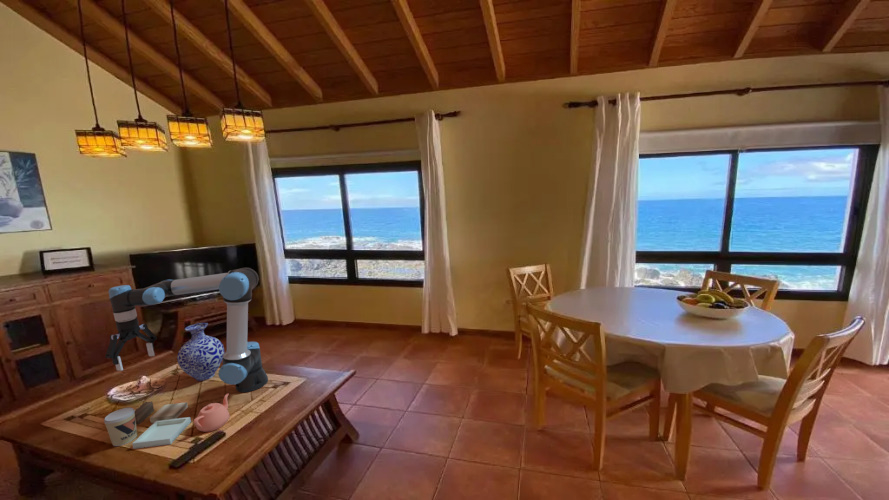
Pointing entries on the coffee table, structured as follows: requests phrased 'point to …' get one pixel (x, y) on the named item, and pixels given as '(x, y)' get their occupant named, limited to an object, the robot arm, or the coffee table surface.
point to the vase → (200, 353)
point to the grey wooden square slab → (169, 412)
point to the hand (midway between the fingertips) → (136, 362)
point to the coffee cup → (121, 426)
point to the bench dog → (143, 412)
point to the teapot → (212, 416)
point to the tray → (162, 433)
